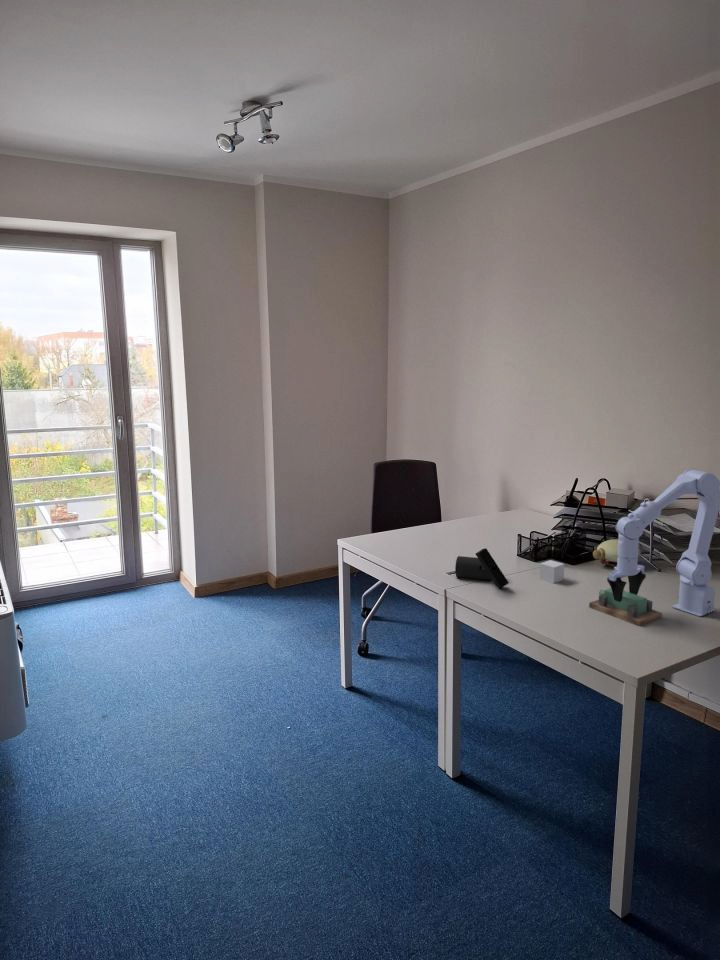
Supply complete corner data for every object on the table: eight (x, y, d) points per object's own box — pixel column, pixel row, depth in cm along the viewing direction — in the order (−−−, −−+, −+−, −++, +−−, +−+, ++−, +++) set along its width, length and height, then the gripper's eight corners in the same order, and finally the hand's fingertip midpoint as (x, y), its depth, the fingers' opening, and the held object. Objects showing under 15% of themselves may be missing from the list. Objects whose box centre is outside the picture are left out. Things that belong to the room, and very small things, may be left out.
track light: (444, 563, 243) (459, 561, 223) (475, 542, 245) (492, 539, 226) (467, 598, 242) (483, 600, 222) (498, 577, 244) (517, 577, 225)
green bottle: (646, 612, 199) (647, 598, 198) (637, 615, 197) (637, 601, 196) (605, 597, 212) (605, 584, 211) (596, 600, 209) (596, 587, 209)
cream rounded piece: (648, 567, 244) (607, 574, 239) (621, 555, 259) (581, 562, 254) (649, 543, 242) (607, 550, 238) (621, 532, 257) (581, 539, 253)
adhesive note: (563, 579, 234) (564, 563, 233) (553, 583, 230) (554, 567, 229) (549, 575, 238) (550, 559, 237) (539, 579, 235) (540, 563, 234)
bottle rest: (661, 617, 199) (662, 603, 198) (639, 626, 193) (639, 611, 192) (611, 599, 214) (612, 586, 213) (589, 607, 208) (589, 593, 207)
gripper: (631, 548, 207) (629, 589, 209) (601, 557, 199) (599, 599, 202) (651, 554, 201) (648, 595, 204) (621, 563, 194) (618, 606, 196)
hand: (625, 598), depth 202 cm, fingers open, 7 cm apart
